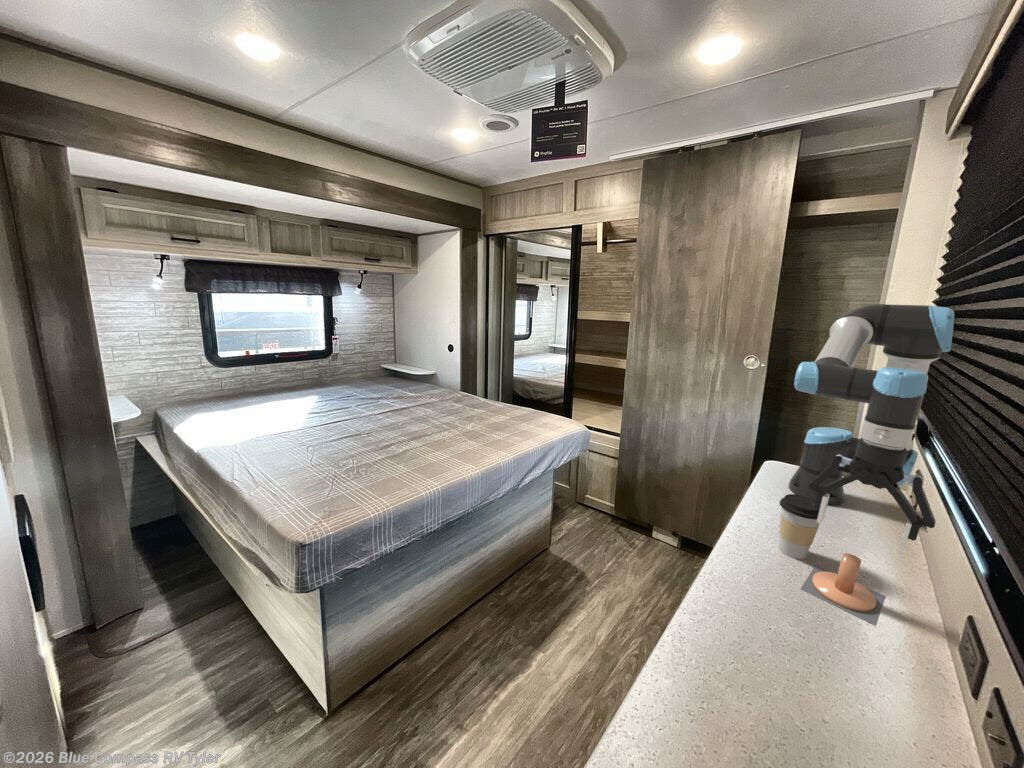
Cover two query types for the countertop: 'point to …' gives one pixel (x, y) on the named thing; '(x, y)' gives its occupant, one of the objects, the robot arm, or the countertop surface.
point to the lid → (845, 586)
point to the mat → (866, 616)
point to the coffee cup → (797, 525)
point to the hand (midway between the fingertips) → (858, 535)
